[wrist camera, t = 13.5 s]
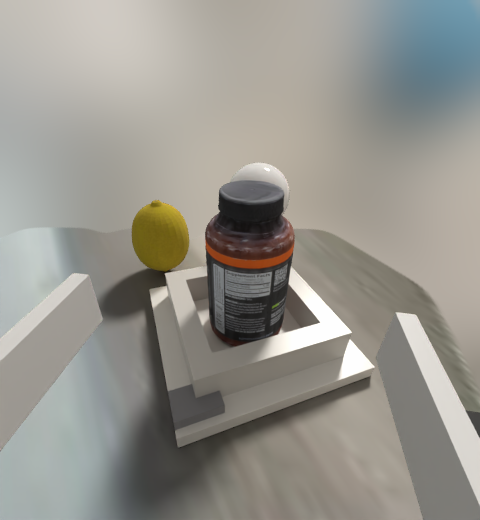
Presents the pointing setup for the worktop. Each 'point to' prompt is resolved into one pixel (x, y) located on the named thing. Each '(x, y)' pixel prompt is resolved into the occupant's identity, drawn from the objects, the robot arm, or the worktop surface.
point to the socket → (246, 357)
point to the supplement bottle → (248, 262)
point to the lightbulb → (264, 177)
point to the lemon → (160, 236)
